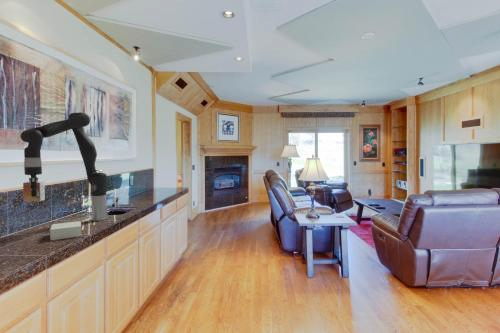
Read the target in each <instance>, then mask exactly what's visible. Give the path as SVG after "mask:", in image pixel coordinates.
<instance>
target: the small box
mask: <svg viewBox="0 0 500 333" xmlns="http://www.w3.org/2000/svg"><path fill="white" fill-rule="evenodd" d="M36 184H38V185H37V196H36V197H32V194H31V186H30V182H29V181H27V182H26V181H25V182H23V183H22V191H23V192H22V193H23V203H26V202H30V203H31V202H42V201H45V200H46V199H45V198H46V195H45V181H38V182H36ZM32 187H35V186H32Z"/></svg>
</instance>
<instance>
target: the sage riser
mask: <svg viewBox="0 0 500 333" xmlns="http://www.w3.org/2000/svg"><path fill="white" fill-rule="evenodd" d="M49 236H50V241H56V240H62V239H71V238H78V237H82V221H81V220H79V221H69V222H61V223H53V224H52V225H51V226H50V229H49Z"/></svg>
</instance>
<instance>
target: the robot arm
mask: <svg viewBox="0 0 500 333" xmlns="http://www.w3.org/2000/svg"><path fill="white" fill-rule="evenodd" d="M90 123H91V117H90V115H88V114H87V113H86V112H71V113H70V114H69V115H68V118H67V119H63V120H58V121H54V122H50V123H49V122H48V123H46V124H43V125H40V126H38V127H37V126H36V127H32V128H28V129H26V130H22V132H21V133H20V139H21V141H22V142H24V143H27V144H28V145H27V146H26V147H25V148H24V149H23V150H24V151H23V153H24V160H23V164H24V165H23V166H24V168H23V169H24V170H23V172H24V175H25V176H30V177H29V178H28V182H30V186H31V194H32V197H36V196H37V185H38V184H36V182H39V177H37V175H42V174H43V169H42V165H43V164H42V158H41V154H42V153H41V150H42V146H43V141H44V138H45V139H46V138H50V137H53V136H56V135H58V134H61V133H64V132H67V131H70V130H72V132H73V134H74V137H75V140H76V143H77V146H78V150H79V152H80V155H81V158H82V162H83V165H84V168H85V172H86V176H87V178H86V179H87V182H88V183H89V184H90V185H91V186H96V187H95V189H94V190H92V191H91V193H90V196H91V198H90V200H91V221H94V222H98V221H105V220H108V206H107V192H108V176H107V174H106V173H105V172H97V170H96V160H97V156H98V152H97V149H96V146H95V144H94V142H93V141H92V139H91V138H90V137H89V136H88V135H87V134H86V132H85V128H84V127H87V126H89V125H90ZM32 186H35V187H32Z"/></svg>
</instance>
